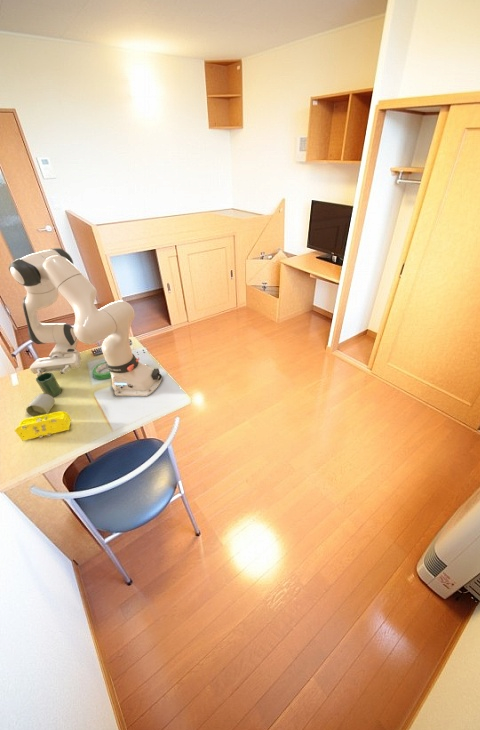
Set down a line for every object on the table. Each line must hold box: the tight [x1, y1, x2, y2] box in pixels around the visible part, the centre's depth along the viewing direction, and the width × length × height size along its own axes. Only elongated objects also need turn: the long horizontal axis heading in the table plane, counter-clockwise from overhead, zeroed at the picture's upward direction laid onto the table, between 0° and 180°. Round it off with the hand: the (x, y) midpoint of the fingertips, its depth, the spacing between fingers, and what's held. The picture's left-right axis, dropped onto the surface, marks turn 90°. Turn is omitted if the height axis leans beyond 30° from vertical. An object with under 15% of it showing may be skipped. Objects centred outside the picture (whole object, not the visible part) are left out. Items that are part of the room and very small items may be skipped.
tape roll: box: [92, 361, 111, 380], centre depth 145 cm, size 11×11×3 cm
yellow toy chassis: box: [14, 410, 72, 441], centre depth 114 cm, size 16×6×8 cm, turn 110°
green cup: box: [35, 372, 62, 398], centre depth 131 cm, size 6×6×10 cm
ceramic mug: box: [25, 392, 56, 417], centre depth 122 cm, size 11×8×8 cm
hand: (51, 374), depth 134 cm, fingers open, 8 cm apart
